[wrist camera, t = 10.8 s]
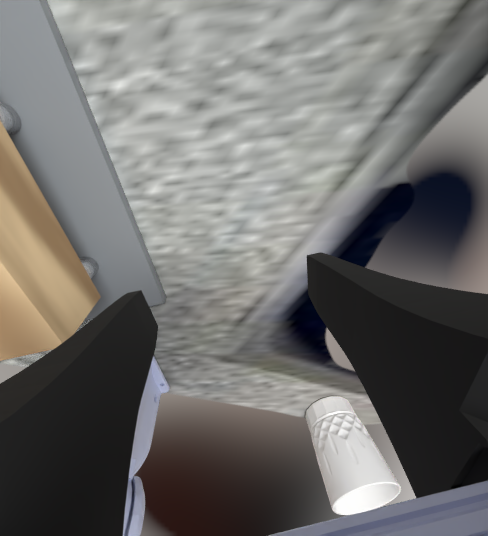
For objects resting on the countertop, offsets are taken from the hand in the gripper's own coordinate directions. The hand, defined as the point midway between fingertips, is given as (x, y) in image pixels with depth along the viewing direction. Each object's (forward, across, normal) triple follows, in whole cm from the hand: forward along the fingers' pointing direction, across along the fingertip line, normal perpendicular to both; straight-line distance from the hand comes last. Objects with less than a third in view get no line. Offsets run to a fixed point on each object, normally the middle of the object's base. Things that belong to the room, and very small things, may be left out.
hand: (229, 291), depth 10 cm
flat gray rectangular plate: (+10, +12, -4) cm, 16 cm away
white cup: (+11, -9, +31) cm, 34 cm away
